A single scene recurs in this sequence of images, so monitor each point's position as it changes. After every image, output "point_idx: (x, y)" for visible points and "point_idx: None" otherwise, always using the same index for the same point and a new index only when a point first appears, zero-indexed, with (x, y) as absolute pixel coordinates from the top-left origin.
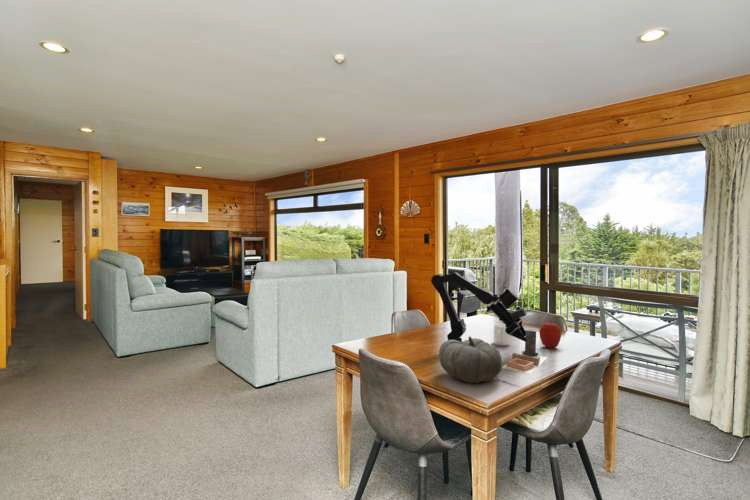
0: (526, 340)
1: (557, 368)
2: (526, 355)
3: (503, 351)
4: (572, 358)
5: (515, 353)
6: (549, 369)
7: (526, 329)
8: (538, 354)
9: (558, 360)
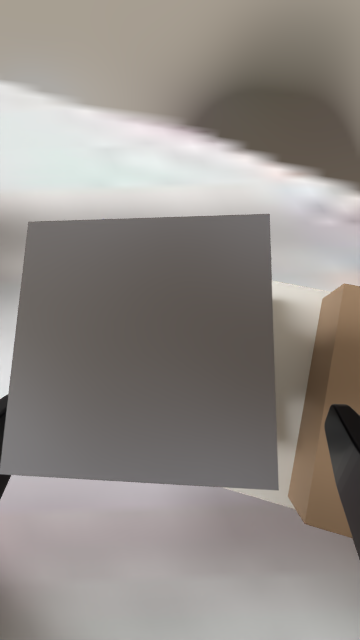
0: (351, 415)
1: (294, 194)
2: (337, 393)
3: (23, 586)
4: (34, 125)
5: (320, 503)
6: (345, 237)
7: (104, 460)
8: None
9: (110, 194)
